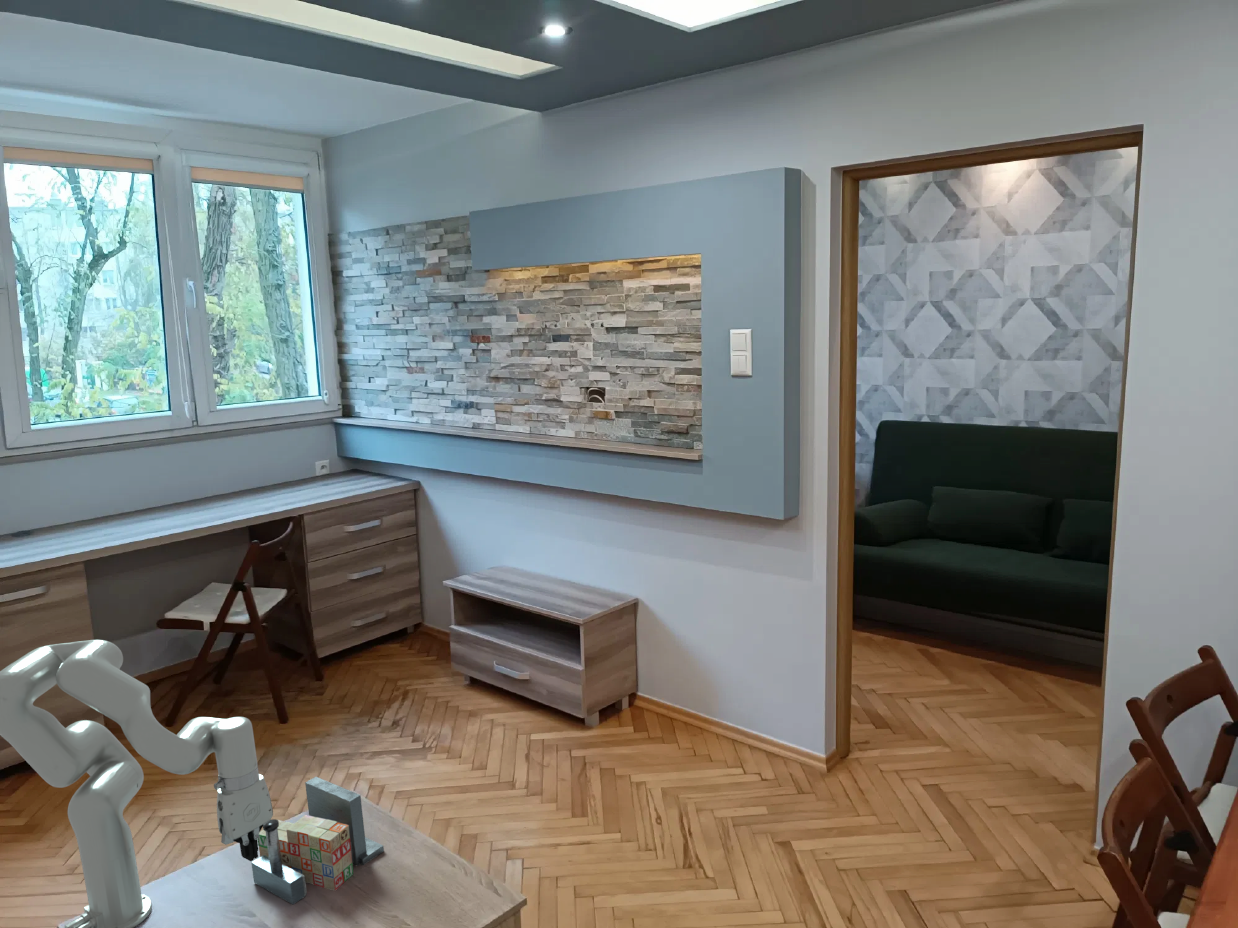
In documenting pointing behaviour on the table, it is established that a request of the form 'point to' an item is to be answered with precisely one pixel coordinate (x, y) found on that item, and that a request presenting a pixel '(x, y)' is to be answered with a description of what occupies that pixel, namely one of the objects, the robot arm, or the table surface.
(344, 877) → the stack of blocks
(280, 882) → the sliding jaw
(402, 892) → the table surface
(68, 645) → the robot arm
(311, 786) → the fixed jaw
